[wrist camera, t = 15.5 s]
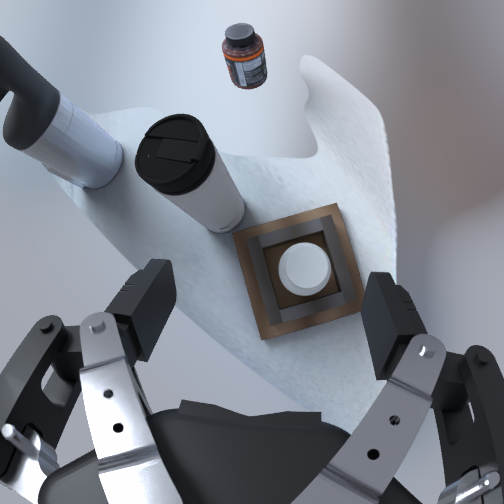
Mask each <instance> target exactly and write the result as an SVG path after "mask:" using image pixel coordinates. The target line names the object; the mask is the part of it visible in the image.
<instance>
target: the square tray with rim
mask: <svg viewBox="0 0 504 504" xmlns="http://www.w3.org/2000/svg"><path fill="white" fill-rule="evenodd" d="M232 235H233V239H234V242H235V246H236V250H237V254H238V257H239V261H240V265H241V268H242V272H243V276H244V279H245V283H246V287H247V290H248V294H249V297H250V301H251V305H252V308H253V312H254V315H255V319H256V322H257V326H258V330H259V333H260V337H261V340H265V339H269V338H272V337H276V336H280V335H284V334H287V333H291V332H295V331H298V330H302V329H305V328H308V327H312V326H315V325H319V324H322V323H325V322H328V321H332V320H335V319H338V318H341V317H344V316H347V315H350V314H353V313H356V312H359V311H361V307H362V301H363V298H364V294H365V293H364V289H363V285H362V282H361V278H360V274H359V271H358V268H357V264H356V261H355V257H354V254H353V251H352V247H351V244H350V241H349V238H348V235H347V232H346V229H345V226H344V223H343V220H342V217H341V214H340V211H339V208H338V205H337V203H334V204H331V205H327V206H323V207H320V208H316V209H313V210H309V211H306V212H302V213H299V214H295V215H292V216H288V217H285V218H281V219H278V220H275V221H271V222H268V223H264V224H261V225H258V226H254V227H251V228H247V229H244V230H241V231H237V232H234V233H232ZM298 243H311V244H315V245H317V246H318V247H320V248H321V249H322V250H323V251H324V252H325V253H326V254H327V256H328V258H329V260H330V264H331V274H330V278H329V280H328V282H327V284H326V285H325V287H324V288H323V289H321V290H320V291H319V292H317V293H315V294H312V295H308V296H302V295H297V294H294V293H292V292H290V291H289V290H287V289H286V288H285V287H284V285H283V284H282V282H281V279H280V277H279V262H280V259H281V257H282V255H283V254H284V252H285V251H286V250H287V249H288V248H290V247H291V246H293V245H295V244H298Z"/></svg>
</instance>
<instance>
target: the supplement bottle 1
mask: <svg viewBox="0 0 504 504" xmlns="http://www.w3.org/2000/svg"><path fill="white" fill-rule="evenodd" d="M225 36H226V39H225V40H224V41H223V44H222V50H223V53H224V57H225V60H226V63H227V66H228V70H229V73H230V77H231V79H232V82H233V83H234V84H235V85H236V86H237V87H238V88H242V89H253V88H257V87H259V86H261V85H262V84H263V83H264V82H265V81H266V78H267V68H266V60H265V53H264V46H263V41H262V39H261V37H260V36H259V35H258V34H256V33H255V32H254V28H253V27H252V26H251V25H249V24H246V23H238V24H234V25H232V26H230V27H228V28H227V29H226V31H225Z"/></svg>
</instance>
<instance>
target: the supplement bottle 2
mask: <svg viewBox="0 0 504 504" xmlns="http://www.w3.org/2000/svg"><path fill="white" fill-rule="evenodd" d="M330 274H331V264H330V260H329V258H328V256H327V254H326V253H325V252H324V251H323V250H322V249H321V248H320V247H318V246H317V245H315V244H311V243H298V244H295V245H293V246H291V247H290V248H288V249H287V250H286V251H285V252H284V254H283V255H282V257H281V259H280V262H279V277H280V279H281V282H282V284H283V285H284V287H285V288H286V289H287V290H289V291H290V292H292V293H294V294H297V295H302V296H308V295H312V294H315V293H317V292H319V291H320V290H321V289H323V288H324V287H325V285H326V284H327V282H328V280H329V278H330Z"/></svg>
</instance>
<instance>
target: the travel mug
mask: <svg viewBox="0 0 504 504" xmlns="http://www.w3.org/2000/svg"><path fill="white" fill-rule="evenodd" d="M135 168H136V171H137V173H138V175H139V176H140V177H141V178H142V179H143V180H144V181H145V182H147V183H148V184H149V185H151V186H152V187H153V188H154V189H155V190H156V191H158V192H159V193H160V194H162V195H163V196H164V197H166V198H167V199H168V200H170V201H171V202H172V203H174V204H175V205H176V206H178V207H179V208H180V209H182V210H183V211H184V212H186V213H187V214H189V215H190V216H191V217H193V218H194V219H195V220H197V221H198V222H199V223H201V224H202V225H203V226H205V227H206V228H207V229H209V230H211V231H213V232H215V233H226V232H230V231H232V230H234V229H235V228H236V227H237V226H238V225H239V224H240V223H241V222H242V220H243V218H244V214H245V205H244V201H243V199H242V197H241V195H240V193H239V191H238V189H237V188H236V186H235V184H234V182H233V180H232V178H231V176H230V174H229V172H228V170H227V168H226V166H225V165H224V163H223V161H222V159H221V157H220V155H219V153H218V151H217V149H216V147H215V146H214V144H213V142H212V140H211V139H210V138H209V136H208V134H207V132H206V130H205V128H204V126H203V125H202V123H201V122H200V121H199V120H198V119H197V118H195V117H193V116H191V115H188V114H175V115H170V116H168V117H165V118H163V119H161V120H159V121H158V122H156V123H155V124H154V125H152V126H151V127H150V128H149V130H148V131H147V132H146V134H145V137H144V138H143V139H142V141H141V143H140V145H139V147H138V150H137V155H136V157H135Z"/></svg>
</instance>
